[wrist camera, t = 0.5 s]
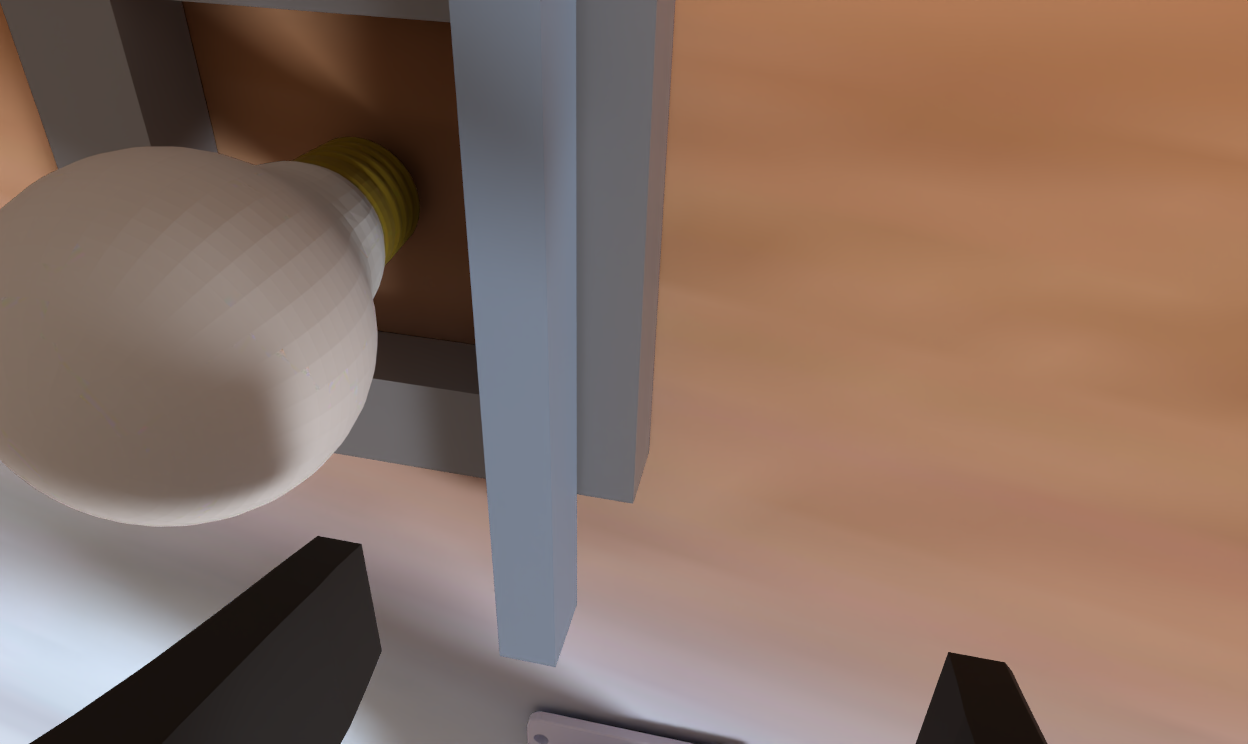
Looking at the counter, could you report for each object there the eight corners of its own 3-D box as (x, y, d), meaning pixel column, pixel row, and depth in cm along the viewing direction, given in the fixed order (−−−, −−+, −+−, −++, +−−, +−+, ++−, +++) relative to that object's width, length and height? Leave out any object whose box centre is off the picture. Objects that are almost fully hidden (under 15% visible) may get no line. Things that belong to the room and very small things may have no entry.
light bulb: (404, 340, 22) (136, 660, 13) (215, 167, 20) (-218, 410, 12) (557, 198, 19) (333, 500, 10) (349, -18, 17) (-108, 136, 9)
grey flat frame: (649, 452, 22) (632, 503, 20) (193, 379, 24) (146, 421, 22) (700, -439, 13) (679, -477, 11) (-49, -431, 15) (-162, -461, 13)
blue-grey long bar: (424, -532, 11) (351, -593, 9) (622, -538, 11) (580, -602, 9) (503, 589, 22) (476, 651, 21) (599, 608, 22) (579, 671, 20)
